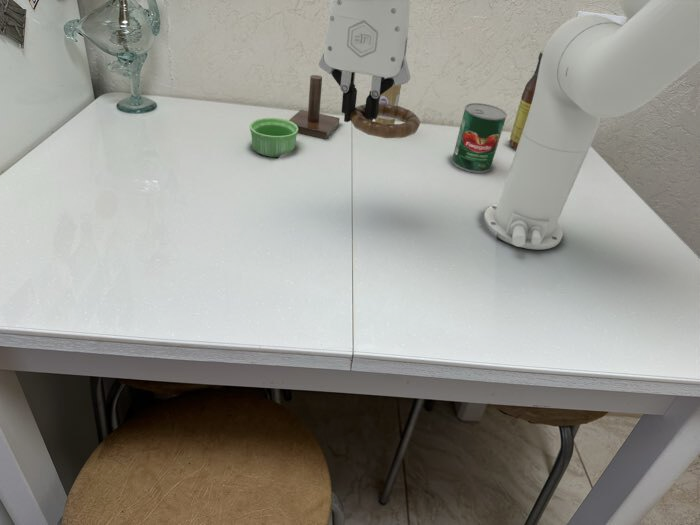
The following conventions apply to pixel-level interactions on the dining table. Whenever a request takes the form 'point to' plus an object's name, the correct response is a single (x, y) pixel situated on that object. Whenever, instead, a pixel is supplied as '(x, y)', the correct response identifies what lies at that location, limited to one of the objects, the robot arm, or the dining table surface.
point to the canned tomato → (478, 137)
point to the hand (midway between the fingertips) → (358, 119)
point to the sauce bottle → (524, 107)
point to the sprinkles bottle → (389, 98)
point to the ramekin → (273, 136)
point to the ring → (386, 129)
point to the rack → (315, 114)
